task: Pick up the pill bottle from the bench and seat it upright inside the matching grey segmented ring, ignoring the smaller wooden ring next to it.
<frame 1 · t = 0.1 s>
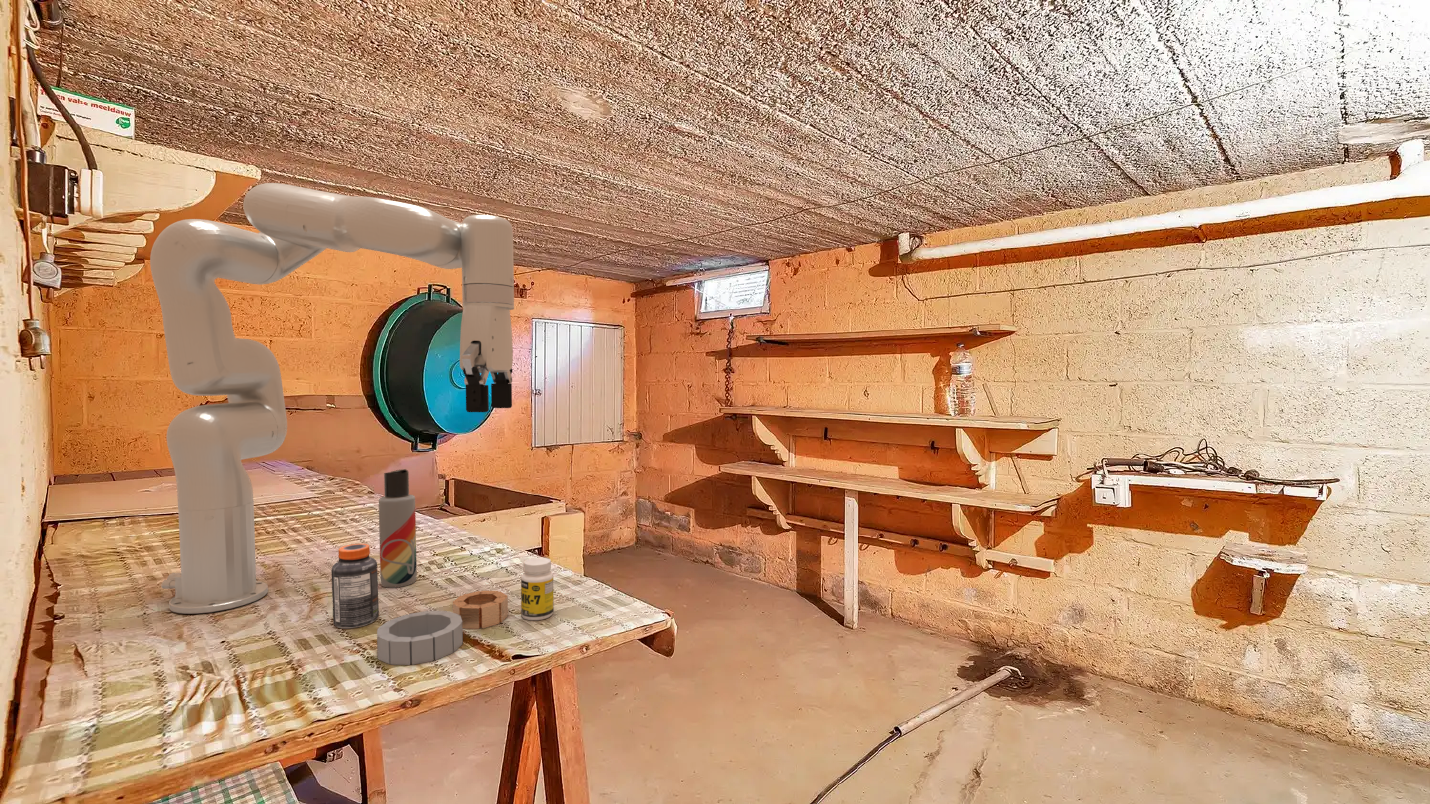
hand: (490, 409, 99), 31 cm above the table, fingers open, 9 cm apart
pill bottle: (356, 622, 95), on the table
supplement bottle: (537, 616, 98), on the table
grey segmented ring: (420, 647, 86), on the table
wooden ring: (480, 618, 96), on the table
lotion bottle: (398, 583, 112), on the table
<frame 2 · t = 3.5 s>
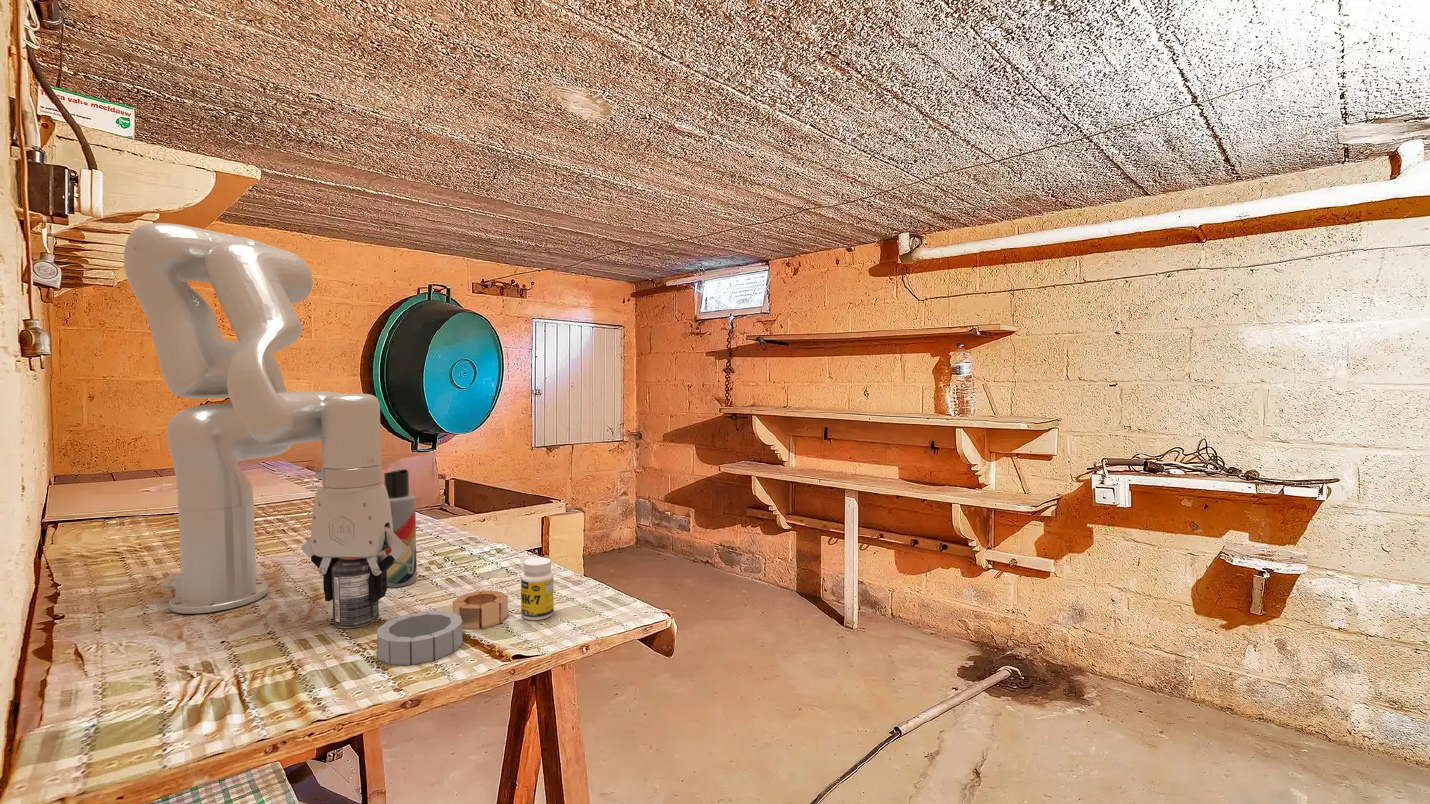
hand: (355, 597, 95), 4 cm above the table, fingers closed on pill bottle, 6 cm apart
pill bottle: (356, 622, 95), on the table, touching gripper
everything else where it was.
when the fingers open (5 cm above the table, at t = 9.2 s): pill bottle drops 2 cm, resting in grey segmented ring.
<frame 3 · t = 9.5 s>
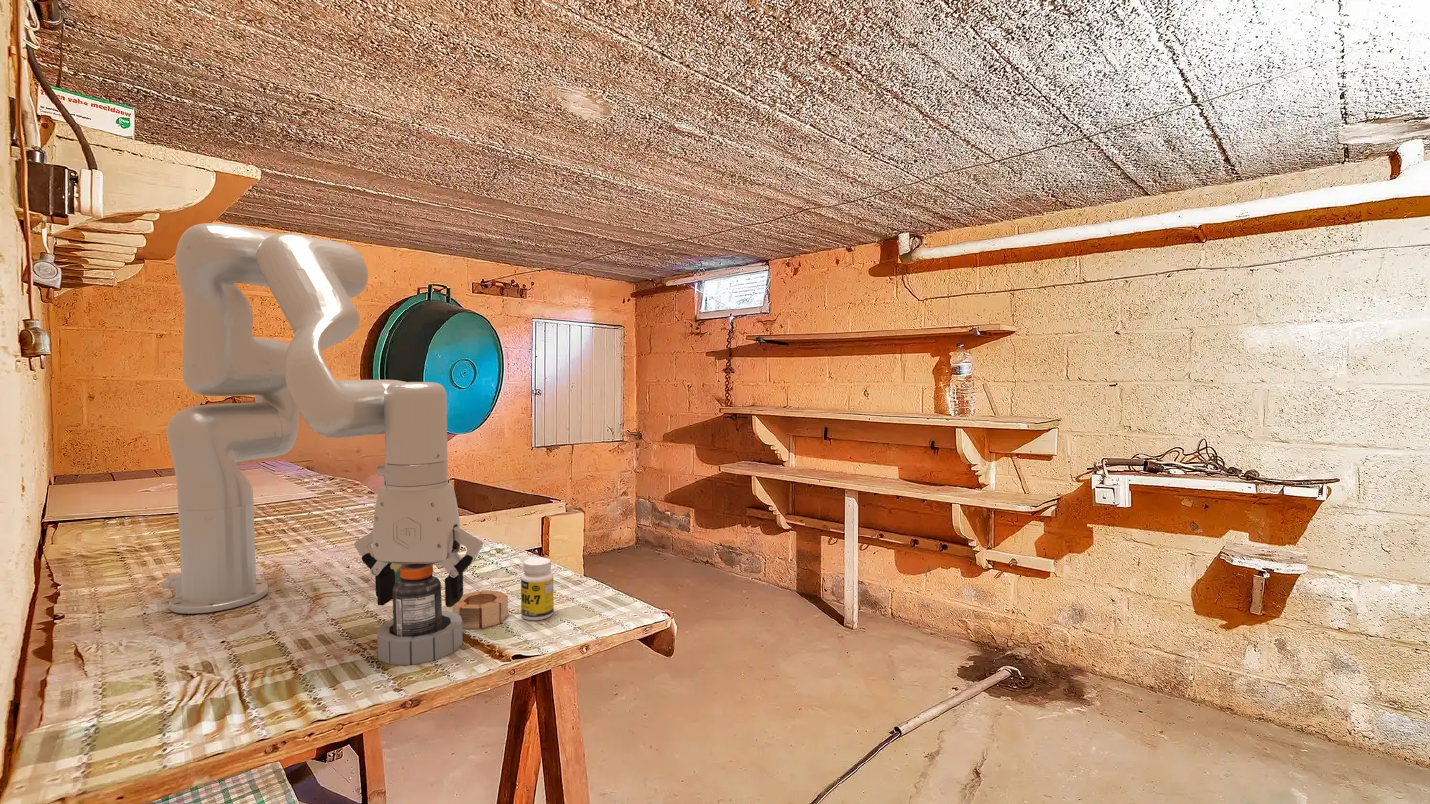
hand: (419, 602, 86), 6 cm above the table, fingers open, 8 cm apart
pill bottle: (418, 648, 86), resting in grey segmented ring
everything else where it was.
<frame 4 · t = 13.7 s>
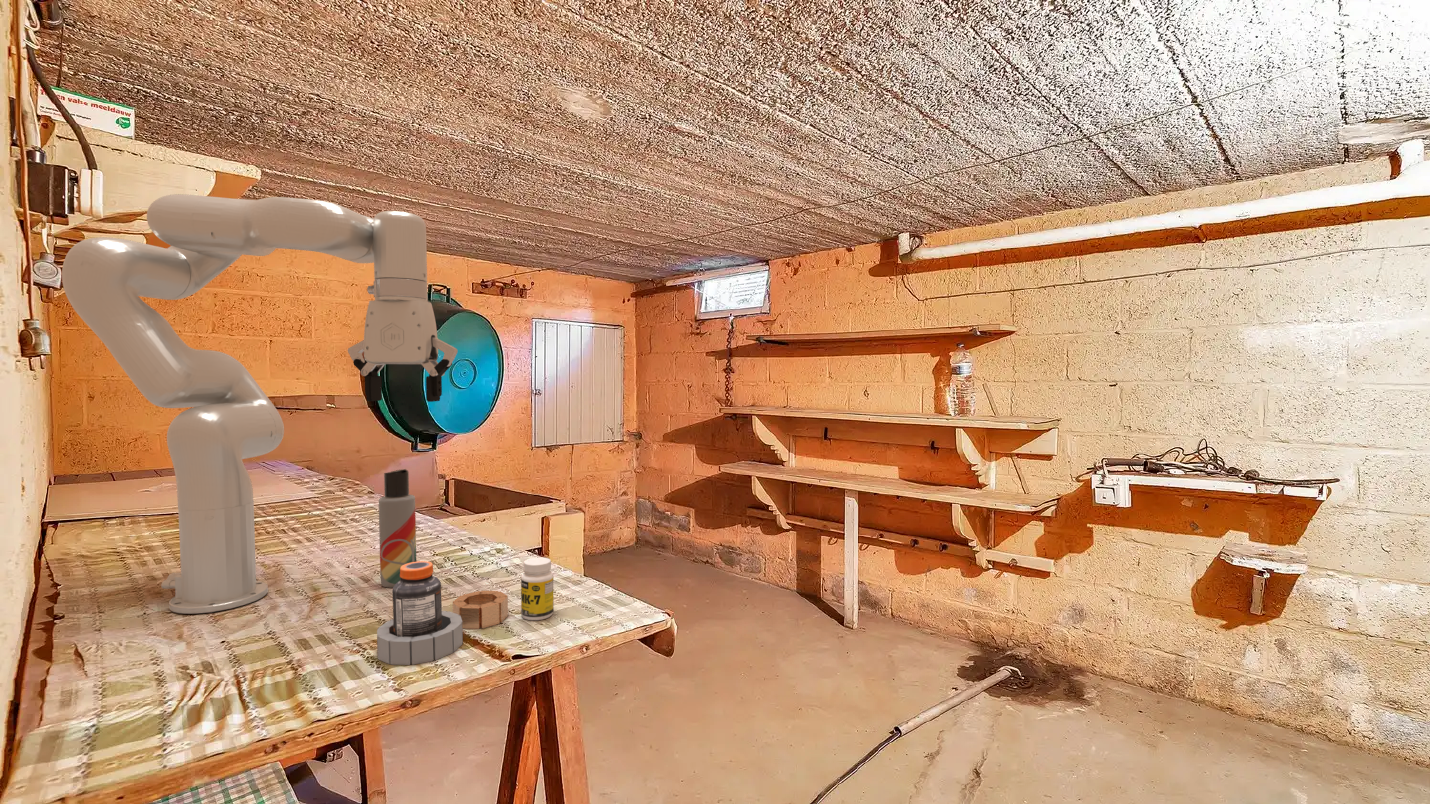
hand: (403, 401, 102), 32 cm above the table, fingers open, 9 cm apart
nothing on the table moved.
at the end: pill bottle 0.4 cm from the grey segmented ring (horizontally); pill bottle resting in grey segmented ring; pill bottle tilted 0° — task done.
